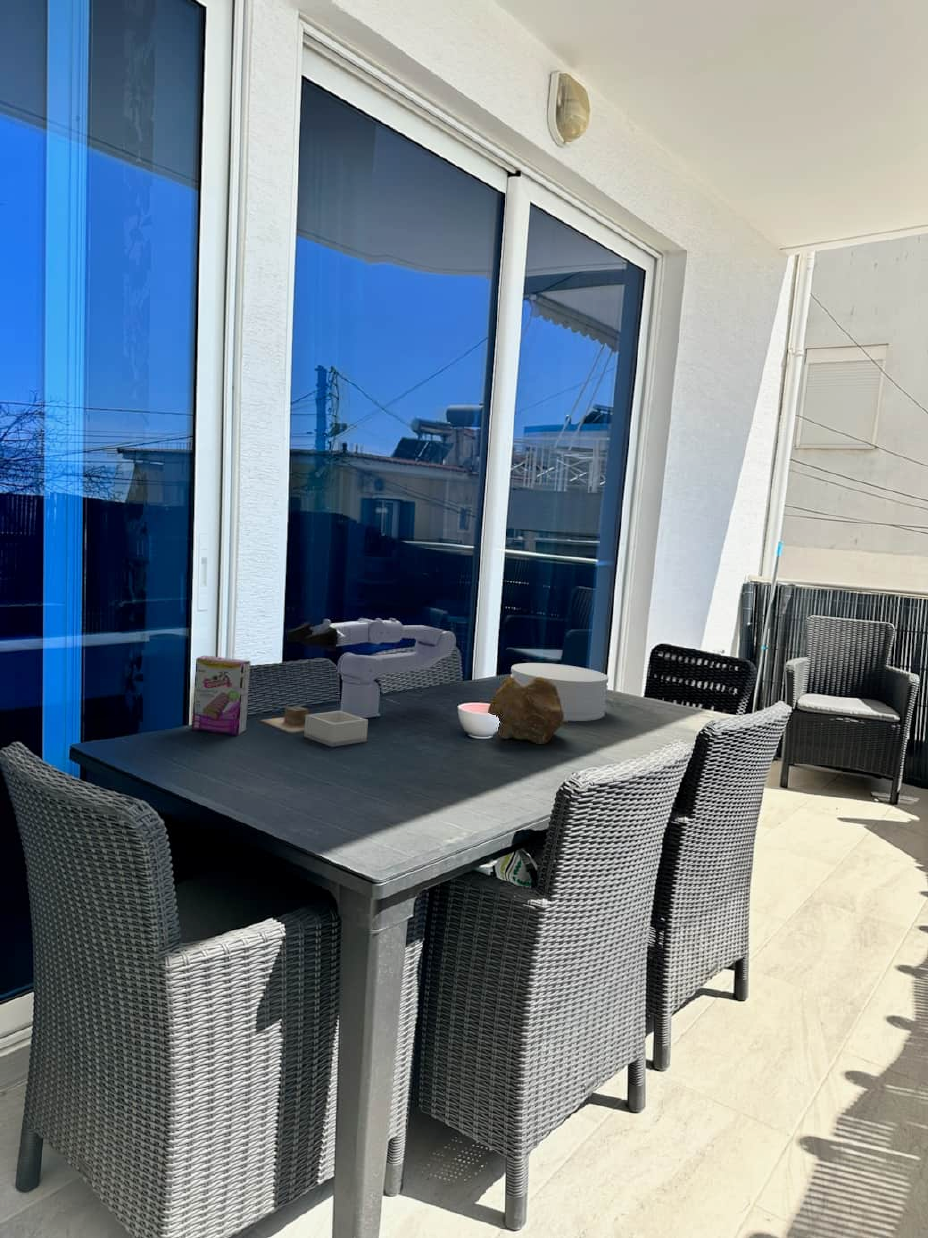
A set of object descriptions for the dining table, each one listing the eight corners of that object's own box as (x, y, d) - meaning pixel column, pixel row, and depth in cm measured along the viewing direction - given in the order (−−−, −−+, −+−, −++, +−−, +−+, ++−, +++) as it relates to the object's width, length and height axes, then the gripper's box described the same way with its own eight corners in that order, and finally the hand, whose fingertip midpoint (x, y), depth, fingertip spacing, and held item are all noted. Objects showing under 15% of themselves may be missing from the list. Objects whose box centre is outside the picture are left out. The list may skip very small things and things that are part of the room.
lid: (301, 719, 219) (302, 701, 219) (331, 729, 211) (332, 711, 211) (260, 724, 210) (261, 705, 210) (289, 735, 202) (291, 716, 202)
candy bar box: (190, 730, 197) (194, 658, 195) (199, 725, 202) (203, 654, 200) (239, 735, 196) (243, 663, 194) (246, 730, 201) (251, 659, 199)
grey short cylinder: (491, 700, 262) (494, 662, 260) (571, 699, 274) (574, 663, 272) (537, 723, 237) (542, 681, 235) (623, 721, 249) (628, 681, 247)
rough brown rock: (530, 756, 204) (542, 694, 202) (474, 734, 214) (485, 675, 212) (581, 745, 222) (592, 688, 220) (527, 726, 232) (538, 671, 230)
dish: (338, 731, 208) (340, 710, 207) (366, 741, 201) (368, 719, 200) (304, 736, 200) (305, 714, 200) (331, 746, 194) (333, 724, 193)
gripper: (324, 614, 223) (279, 618, 213) (361, 622, 213) (316, 626, 203) (323, 641, 224) (278, 646, 214) (360, 650, 214) (315, 656, 204)
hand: (297, 638), depth 208 cm, fingers open, 7 cm apart
